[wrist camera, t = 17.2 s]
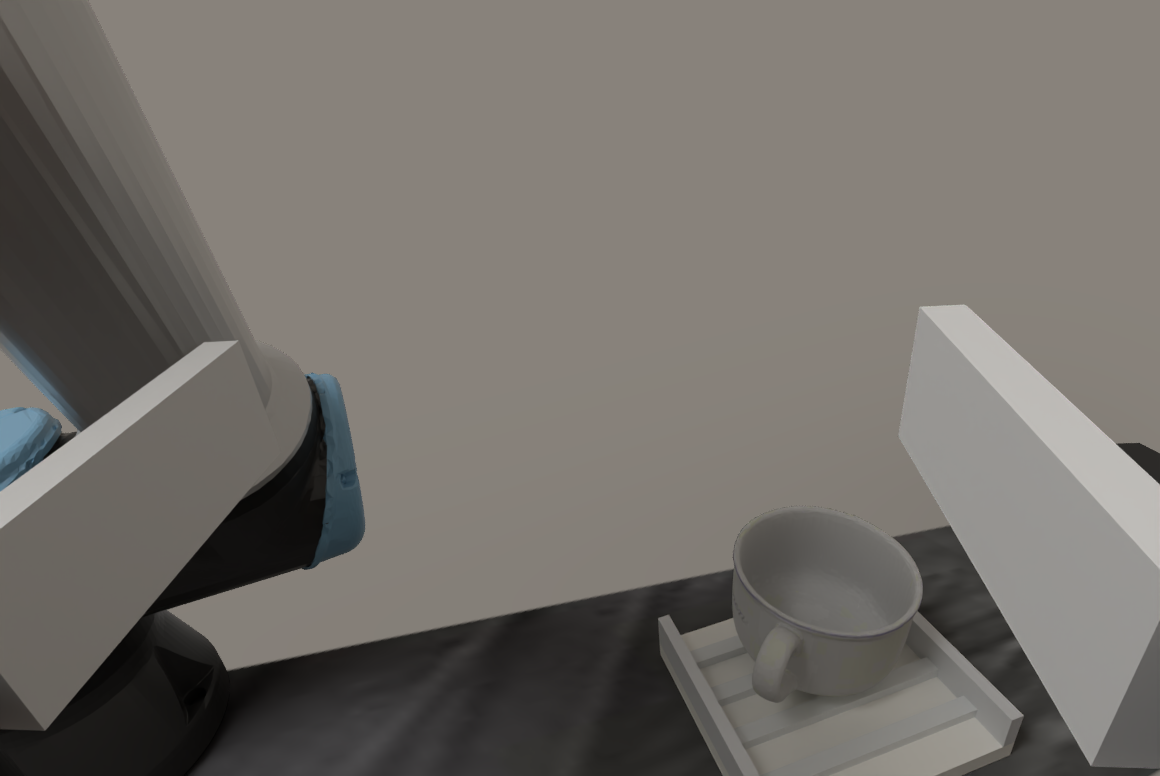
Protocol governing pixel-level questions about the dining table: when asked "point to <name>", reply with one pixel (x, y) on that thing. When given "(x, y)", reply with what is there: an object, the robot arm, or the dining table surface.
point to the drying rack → (842, 712)
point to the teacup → (821, 601)
